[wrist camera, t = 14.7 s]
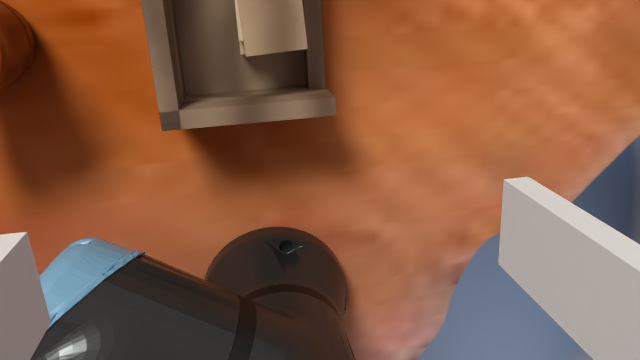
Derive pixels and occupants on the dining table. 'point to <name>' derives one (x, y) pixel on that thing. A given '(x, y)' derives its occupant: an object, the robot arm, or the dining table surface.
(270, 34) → the offcut top
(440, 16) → the dining table surface
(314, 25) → the rack
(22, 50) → the mug
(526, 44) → the dining table surface
